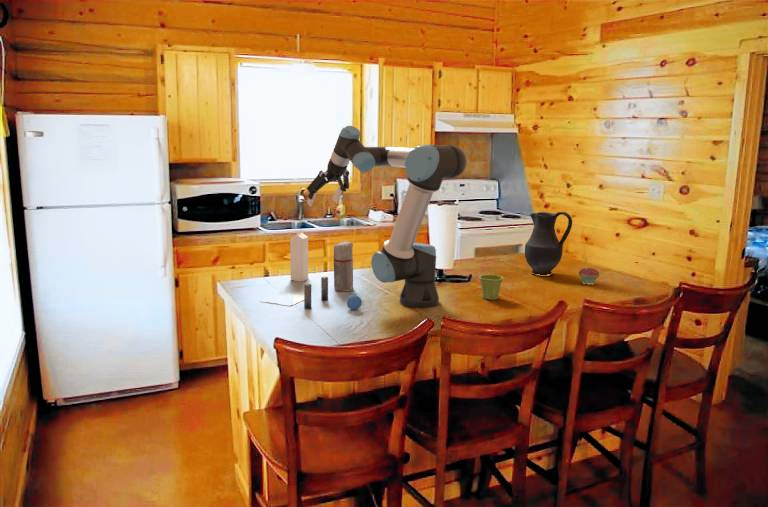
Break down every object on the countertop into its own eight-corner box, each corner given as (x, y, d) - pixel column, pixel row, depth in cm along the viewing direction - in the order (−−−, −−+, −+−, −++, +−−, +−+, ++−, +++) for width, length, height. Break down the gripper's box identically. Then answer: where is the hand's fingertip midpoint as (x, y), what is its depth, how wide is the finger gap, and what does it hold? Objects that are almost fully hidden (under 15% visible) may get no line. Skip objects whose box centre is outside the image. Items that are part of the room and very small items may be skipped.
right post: (329, 299, 240) (329, 277, 238) (326, 301, 237) (325, 278, 235) (323, 298, 241) (323, 276, 239) (320, 300, 238) (320, 277, 236)
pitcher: (531, 268, 300) (535, 207, 294) (573, 274, 288) (579, 211, 282) (517, 274, 286) (521, 210, 280) (560, 281, 274) (565, 214, 268)
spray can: (350, 292, 250) (351, 244, 246) (331, 291, 252) (331, 243, 248) (355, 287, 258) (356, 240, 254) (336, 286, 260) (336, 239, 256)
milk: (290, 280, 268) (289, 230, 264) (295, 277, 274) (294, 228, 270) (303, 281, 267) (302, 231, 262) (308, 278, 273) (307, 229, 268)
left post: (312, 307, 228) (312, 284, 226) (309, 309, 226) (308, 286, 224) (306, 307, 229) (306, 283, 227) (303, 308, 227) (302, 285, 225)
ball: (364, 308, 228) (364, 294, 227) (357, 312, 223) (357, 298, 222) (350, 306, 230) (351, 292, 229) (344, 310, 226) (344, 296, 224)
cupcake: (577, 285, 269) (579, 258, 266) (579, 280, 276) (581, 254, 274) (598, 287, 266) (600, 260, 263) (599, 282, 273) (601, 256, 271)
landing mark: (310, 297, 242) (310, 296, 242) (290, 306, 230) (290, 305, 230) (279, 293, 248) (279, 292, 248) (259, 301, 235) (259, 301, 235)
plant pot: (473, 296, 248) (474, 275, 246) (493, 294, 252) (494, 273, 250) (486, 302, 240) (487, 280, 238) (506, 300, 243) (507, 278, 241)
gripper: (358, 154, 255) (341, 194, 267) (308, 157, 239) (293, 199, 251) (368, 165, 251) (350, 205, 264) (318, 169, 235) (302, 211, 247)
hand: (322, 202), depth 257 cm, fingers open, 13 cm apart
